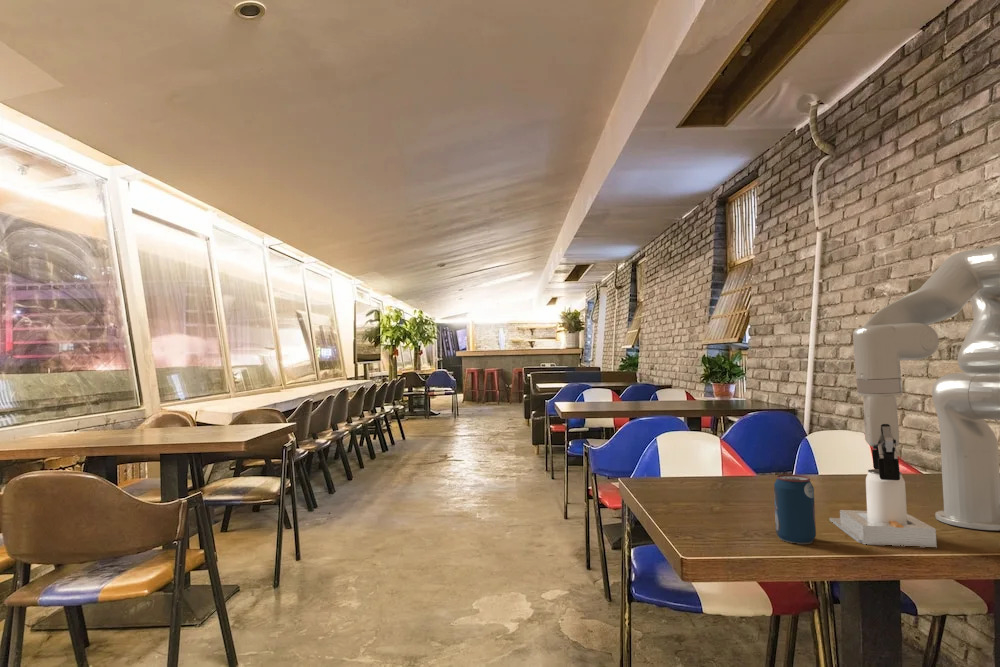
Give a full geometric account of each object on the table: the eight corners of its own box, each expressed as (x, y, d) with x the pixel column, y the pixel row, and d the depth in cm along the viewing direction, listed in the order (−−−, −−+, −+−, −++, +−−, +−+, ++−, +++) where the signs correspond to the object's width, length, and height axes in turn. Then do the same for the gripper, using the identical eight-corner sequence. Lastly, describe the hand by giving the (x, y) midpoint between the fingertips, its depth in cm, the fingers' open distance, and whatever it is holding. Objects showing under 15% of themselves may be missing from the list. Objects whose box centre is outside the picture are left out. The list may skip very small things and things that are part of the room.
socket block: (897, 523, 122) (896, 504, 122) (940, 548, 105) (939, 527, 105) (829, 520, 124) (828, 502, 125) (861, 544, 107) (860, 523, 108)
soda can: (824, 543, 109) (822, 479, 109) (794, 547, 107) (792, 481, 107) (796, 533, 115) (794, 472, 116) (767, 536, 113) (765, 475, 114)
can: (905, 531, 113) (902, 470, 114) (909, 540, 108) (906, 475, 109) (867, 527, 117) (864, 467, 117) (869, 535, 111) (866, 473, 112)
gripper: (853, 385, 124) (859, 465, 123) (861, 391, 108) (868, 483, 107) (895, 384, 120) (902, 466, 119) (909, 390, 105) (917, 485, 104)
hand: (886, 474), depth 113 cm, fingers open, 9 cm apart
